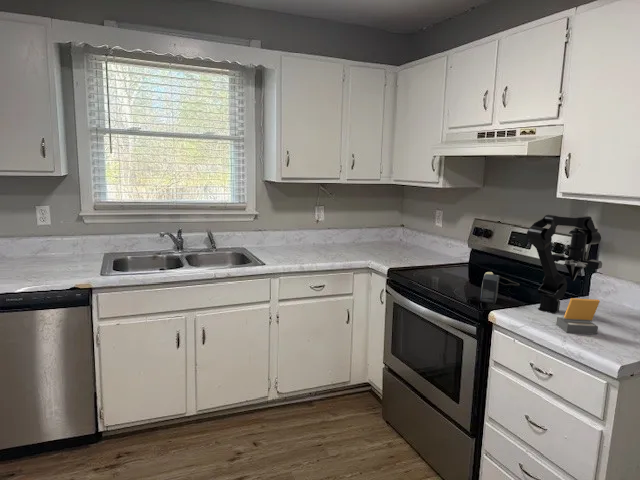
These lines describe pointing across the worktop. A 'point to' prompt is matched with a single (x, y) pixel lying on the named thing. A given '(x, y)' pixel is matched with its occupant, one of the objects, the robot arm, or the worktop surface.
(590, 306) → the orange square tile
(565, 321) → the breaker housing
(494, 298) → the small box
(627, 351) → the worktop surface
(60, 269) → the worktop surface
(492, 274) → the cable
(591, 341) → the worktop surface
